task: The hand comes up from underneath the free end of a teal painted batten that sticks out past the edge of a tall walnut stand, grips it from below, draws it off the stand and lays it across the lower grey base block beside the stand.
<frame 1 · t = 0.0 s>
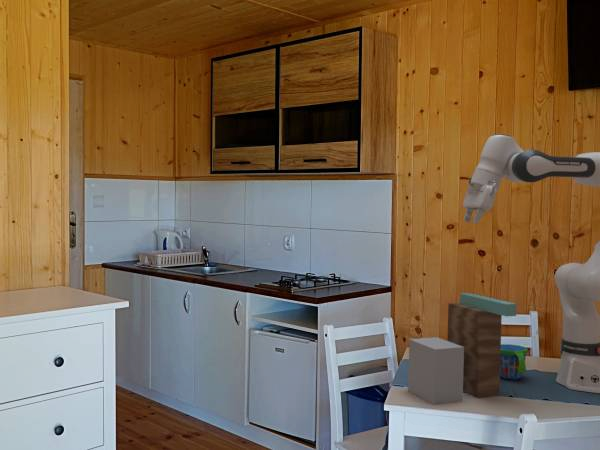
hand: (470, 222, 203), 52 cm above the table, tool tilted 20°, fingers open, 8 cm apart
walnut stand: (471, 389, 198), on the table
snack cup: (510, 377, 212), on the table
batten: (486, 309, 191), point 26 cm above the table, touching walnut stand
base block: (434, 395, 190), on the table
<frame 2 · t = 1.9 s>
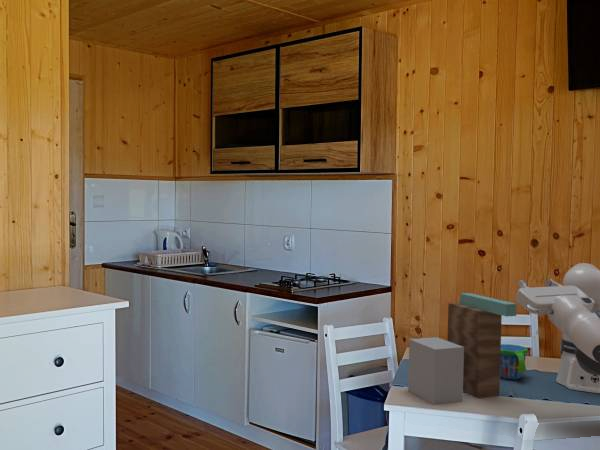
hand: (533, 281, 177), 36 cm above the table, tool pointing upward, fingers open, 8 cm apart
nothing on the table moved.
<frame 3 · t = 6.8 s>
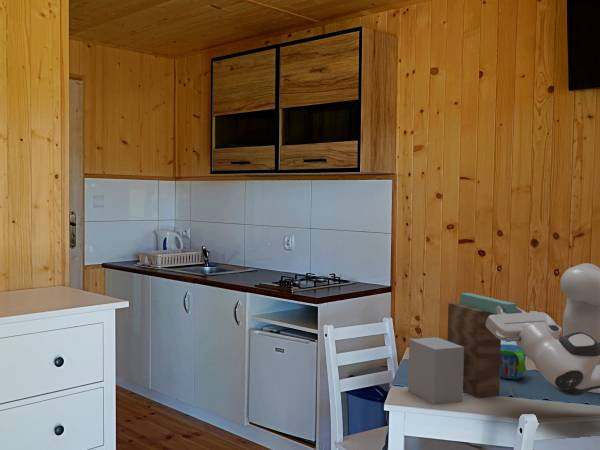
hand: (505, 307, 183), 28 cm above the table, tool pointing upward, fingers closed on batten, 3 cm apart
batten: (486, 309, 191), point 26 cm above the table, touching gripper
everything else where it was.
when the fingers open (21 cm above the table, at t = 13.3 s): batten drops 3 cm, resting on base block.
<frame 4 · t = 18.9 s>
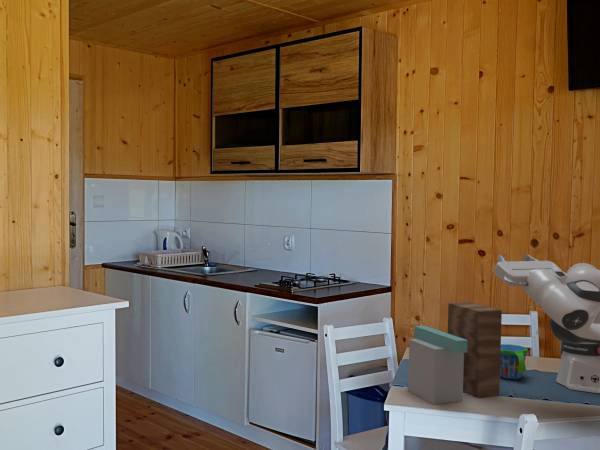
hand: (512, 256, 189), 42 cm above the table, tool pointing upward, fingers open, 8 cm apart
batten: (439, 344, 188), point 16 cm above the table, touching base block
everything else where it was.
at the end: batten inside the target area on the base block (1.9 cm from its centre), point 16.0 cm above the base block's base; batten touching base block; the gripper is holding nothing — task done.
